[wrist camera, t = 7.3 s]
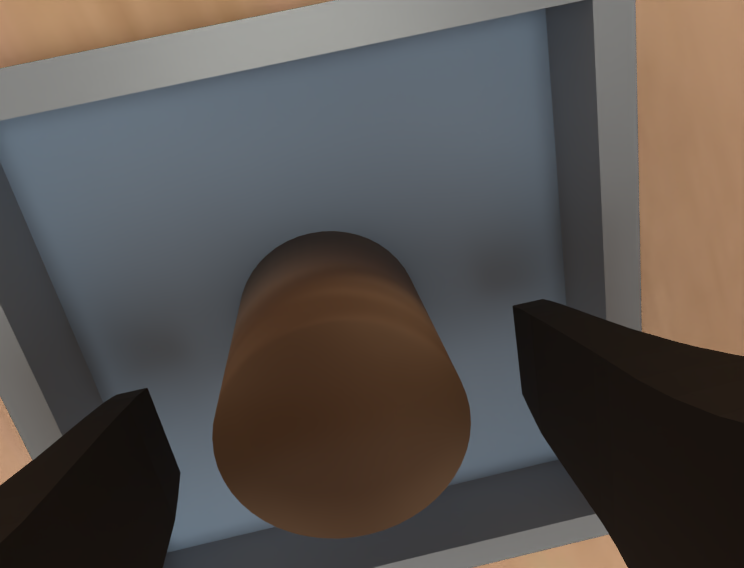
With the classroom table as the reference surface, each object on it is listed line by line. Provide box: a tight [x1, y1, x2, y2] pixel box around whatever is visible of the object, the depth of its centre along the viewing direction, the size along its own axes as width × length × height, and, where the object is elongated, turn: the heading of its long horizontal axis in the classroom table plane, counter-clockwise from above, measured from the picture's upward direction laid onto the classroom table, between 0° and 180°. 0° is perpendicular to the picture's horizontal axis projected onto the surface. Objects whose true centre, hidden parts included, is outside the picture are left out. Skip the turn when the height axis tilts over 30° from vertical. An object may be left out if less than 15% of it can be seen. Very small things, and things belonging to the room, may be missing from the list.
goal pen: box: [0, 0, 642, 568], centre depth 14 cm, size 14×14×2 cm
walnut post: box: [212, 231, 471, 539], centre depth 12 cm, size 4×4×5 cm
